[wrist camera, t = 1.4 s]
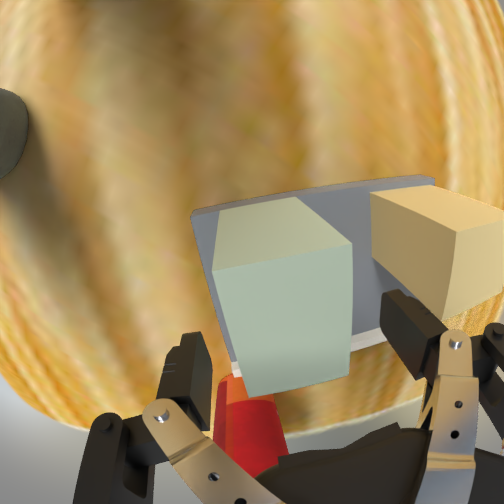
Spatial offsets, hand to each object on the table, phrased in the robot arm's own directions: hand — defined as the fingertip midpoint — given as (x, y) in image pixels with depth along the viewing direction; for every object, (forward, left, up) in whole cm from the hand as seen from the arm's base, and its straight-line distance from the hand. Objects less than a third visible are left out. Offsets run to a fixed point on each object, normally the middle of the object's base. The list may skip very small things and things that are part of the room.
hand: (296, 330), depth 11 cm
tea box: (0, 0, -9) cm, 9 cm away
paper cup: (+15, -5, -11) cm, 19 cm away
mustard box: (-1, +11, -9) cm, 14 cm away
